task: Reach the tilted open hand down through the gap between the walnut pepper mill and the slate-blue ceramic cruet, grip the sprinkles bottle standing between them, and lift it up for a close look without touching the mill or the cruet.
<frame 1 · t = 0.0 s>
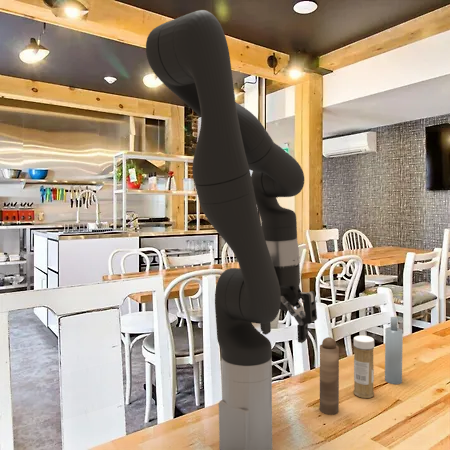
hand: (283, 337, 89), 17 cm above the table, tool pointing down, fingers open, 8 cm apart
ceramic cruet: (393, 380, 107), on the table
pepper mill: (329, 410, 93), on the table
sprinkles bottle: (363, 395, 100), on the table
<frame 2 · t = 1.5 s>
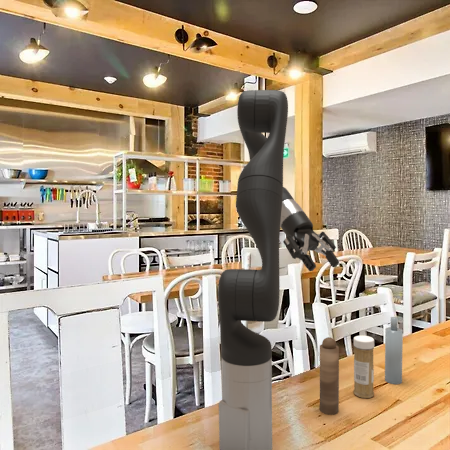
hand: (325, 267, 107), 28 cm above the table, tool tilted 45°, fingers open, 8 cm apart
nothing on the table moved.
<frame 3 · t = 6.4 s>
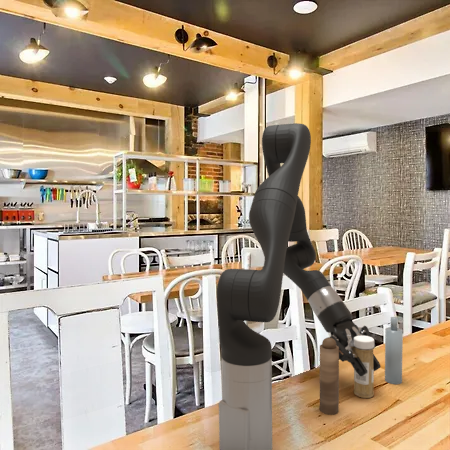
hand: (370, 371, 98), 6 cm above the table, tool tilted 45°, fingers closed on sprinkles bottle, 4 cm apart
sprinkles bottle: (363, 395, 100), on the table, touching gripper
everything else where it was.
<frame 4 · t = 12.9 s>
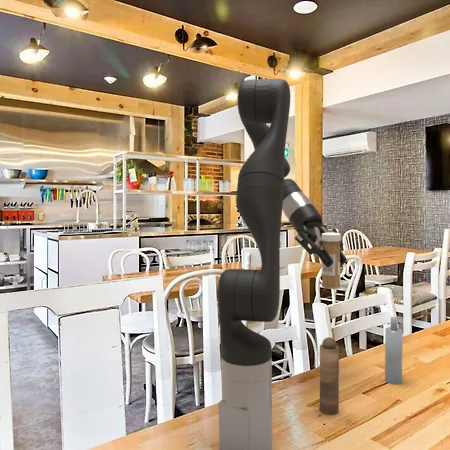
hand: (337, 263, 103), 30 cm above the table, tool tilted 45°, fingers closed on sprinkles bottle, 4 cm apart
sprinkles bottle: (330, 288, 105), point 24 cm above the table, touching gripper
everything else where it was.
at the end: sprinkles bottle point 23.6 cm above the table; pepper mill moved 0.0 cm from its start; ceramic cruet moved 0.0 cm from its start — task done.
